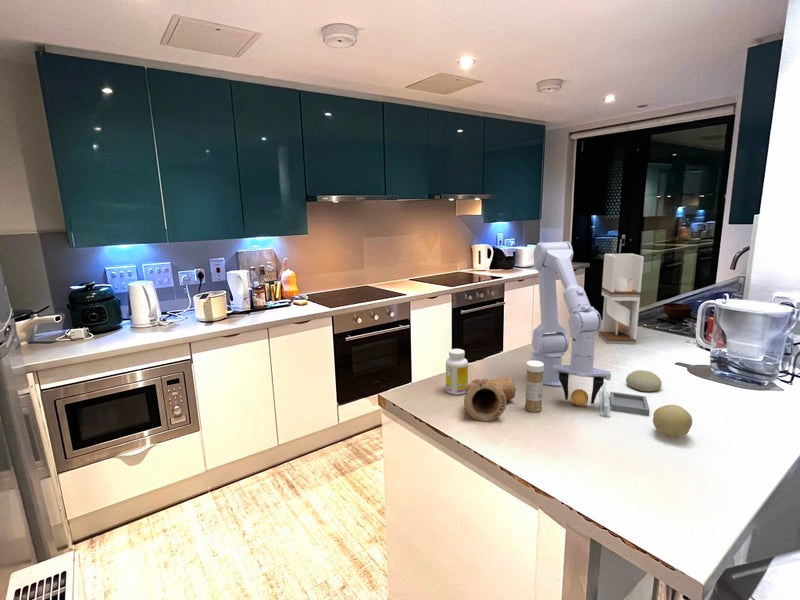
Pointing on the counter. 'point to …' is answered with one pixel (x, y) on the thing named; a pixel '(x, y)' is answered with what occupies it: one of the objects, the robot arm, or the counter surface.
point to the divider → (604, 402)
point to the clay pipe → (488, 397)
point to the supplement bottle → (456, 372)
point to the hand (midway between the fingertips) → (579, 400)
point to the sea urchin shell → (644, 380)
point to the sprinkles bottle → (534, 386)
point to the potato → (672, 421)
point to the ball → (579, 397)
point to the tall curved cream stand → (621, 297)
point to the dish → (629, 403)
